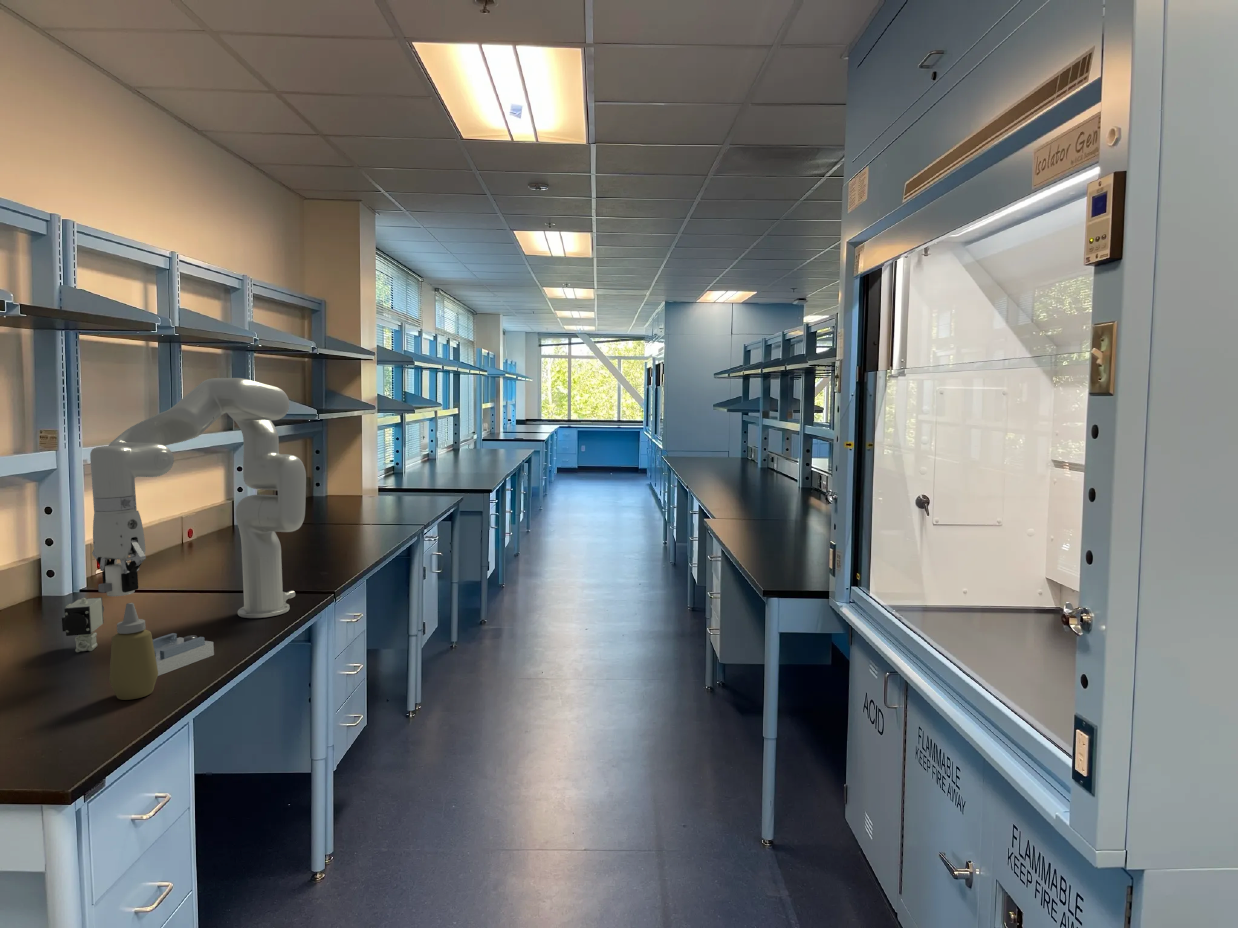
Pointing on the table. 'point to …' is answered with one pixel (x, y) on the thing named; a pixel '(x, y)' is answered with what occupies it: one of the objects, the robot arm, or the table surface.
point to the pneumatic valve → (83, 622)
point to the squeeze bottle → (132, 658)
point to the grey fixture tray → (180, 651)
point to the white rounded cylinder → (113, 581)
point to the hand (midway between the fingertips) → (120, 588)
